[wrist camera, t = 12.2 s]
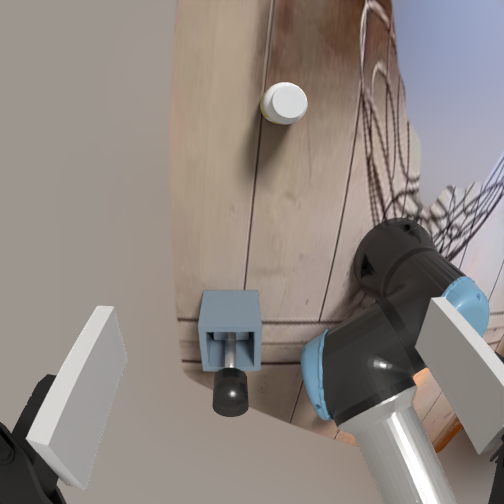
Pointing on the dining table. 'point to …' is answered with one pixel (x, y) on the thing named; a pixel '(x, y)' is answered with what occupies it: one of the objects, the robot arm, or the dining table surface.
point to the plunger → (230, 379)
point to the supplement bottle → (283, 103)
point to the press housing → (230, 328)
